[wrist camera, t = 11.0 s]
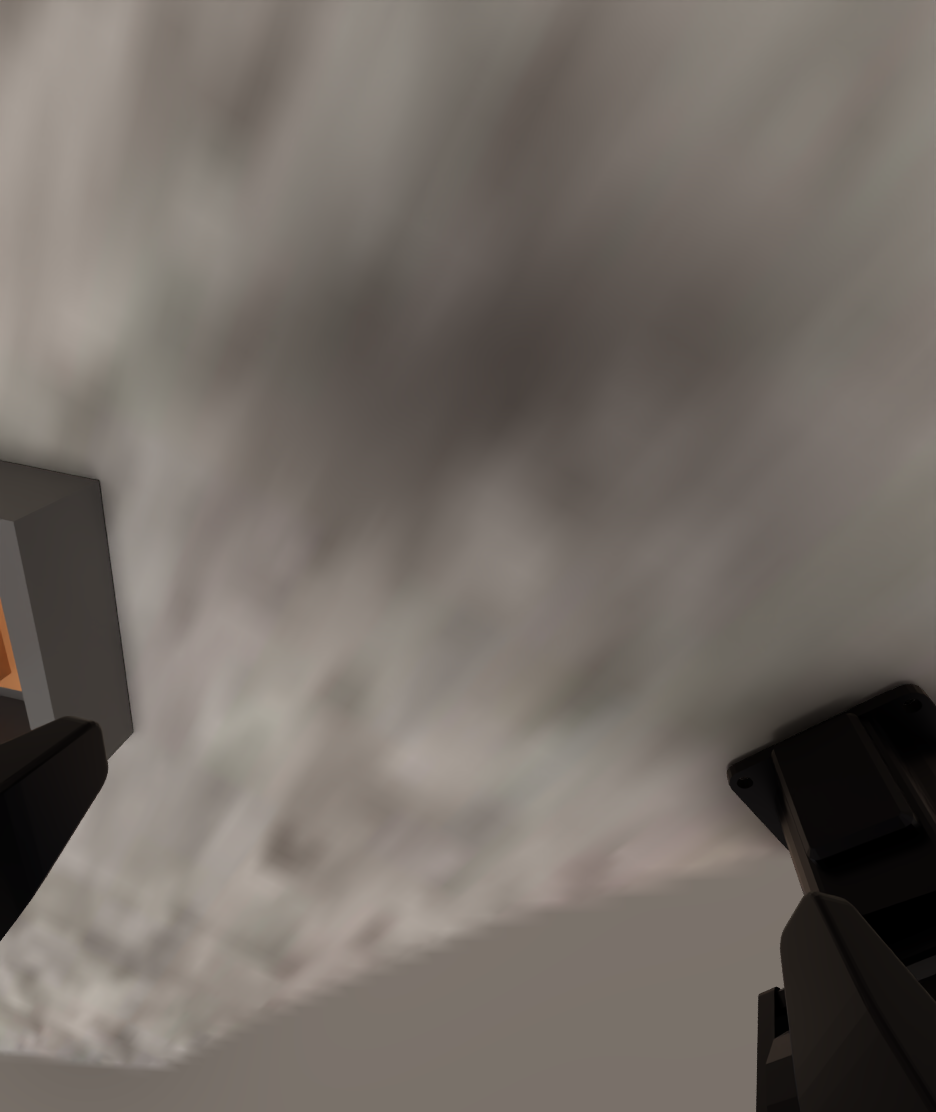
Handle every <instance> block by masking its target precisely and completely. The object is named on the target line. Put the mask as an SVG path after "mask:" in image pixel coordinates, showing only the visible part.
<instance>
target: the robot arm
mask: <svg viewBox="0 0 936 1112" xmlns="http://www.w3.org/2000/svg"><path fill="white" fill-rule="evenodd" d="M911 699H915V700H914V701H913V702H912V703H910V704H904V703H905V702H906V701H908V700H911ZM107 774H108V761H107V755H106V749H105V743H104V737H103V731H102V727H101V726H100V724H99V723H98V722H96V721H93V720H89V719H85V718H81V717H77V716H64V717H61V718H58V719H56V720H54V721H51V722H49V723H47V724H45V725H42V726H40V727H38V728H35V729H33V730H31V731H29V732H26V733H24V734H22V735H19V736H17V737H15V738H12V739H10V740H8V741H6V742H3V743H1V744H0V941H1V940H2V938H3V937H4V936H5V934H6V933H7V932H8V930H9V929H10V928H11V927H12V925H13V924H14V923H15V921H16V920H17V919H18V917H19V916H20V914H21V913H22V912H23V910H24V909H25V908H26V906H27V905H28V903H29V902H30V901H31V899H32V898H33V896H34V895H35V893H36V892H37V890H38V889H39V887H40V886H41V884H42V883H43V881H44V880H45V878H46V877H47V875H48V873H49V872H50V870H51V869H52V867H53V865H54V864H55V862H56V861H57V859H58V857H59V856H60V854H61V853H62V851H63V849H64V848H65V846H66V844H67V843H68V841H69V840H70V838H71V836H72V835H73V833H74V832H75V830H76V828H77V827H78V825H79V824H80V822H81V820H82V819H83V817H84V816H85V814H86V812H87V811H88V809H89V807H90V806H91V804H92V803H93V801H94V799H95V798H96V796H97V795H98V793H99V791H100V790H101V788H102V786H103V784H104V782H105V780H106V777H107ZM742 777H749V778H747V779H744V780H741V779H740V778H742ZM727 778H728V782H729V785H730V787H731V789H732V790H733V791H734V792H735V793H736V794H737V795H738V796H739V798H740V799H741V800H742V801H743V802H744V803H745V804H746V805H747V806H748V807H749V808H750V809H751V810H752V812H753V813H754V814H755V815H756V816H757V817H758V818H759V819H760V820H761V821H762V822H763V823H764V824H765V826H766V827H767V828H768V829H769V830H770V831H771V832H772V833H773V834H774V835H775V836H776V837H777V839H778V840H779V841H780V842H781V843H782V844H783V845H784V846H785V847H786V848H787V849H788V850H789V852H790V855H791V858H792V861H793V864H794V867H795V870H796V872H797V875H798V878H799V882H800V885H801V888H802V891H803V894H804V896H803V898H802V899H801V901H800V903H799V904H798V906H797V908H796V909H795V911H794V913H793V915H792V916H791V918H790V920H789V921H788V923H787V925H786V926H785V928H784V930H783V932H782V936H781V943H780V953H781V963H782V972H783V980H784V988H783V989H780V988H778V987H774V988H772V989H770V990H767V991H765V992H763V993H760V994H759V996H758V1043H757V1096H756V1098H757V1099H756V1112H936V706H935V704H934V703H933V702H932V701H931V699H930V698H929V697H928V695H927V694H926V693H925V692H924V690H923V689H921V688H920V687H919V686H916V685H913V684H904V685H901V686H898V687H896V688H894V689H892V690H889V691H887V692H885V693H883V694H881V695H879V696H877V697H875V698H873V699H871V700H868V701H866V702H864V703H862V704H860V705H858V706H856V707H854V708H852V709H850V710H847V711H845V712H843V713H841V714H839V715H837V716H835V717H833V718H831V719H829V720H826V721H824V722H822V723H820V724H818V725H816V726H814V727H812V728H810V729H807V730H805V731H803V732H801V733H799V734H797V735H795V736H793V737H791V738H789V739H786V740H784V741H782V742H780V743H778V744H776V745H774V746H772V747H770V748H768V749H765V750H763V751H761V752H759V753H757V754H755V755H753V756H751V757H749V758H746V759H744V760H742V761H740V762H738V763H736V764H734V765H732V766H731V767H730V768H729V769H728V771H727Z"/></svg>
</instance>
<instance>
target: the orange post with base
mask: <svg viewBox="0 0 936 1112" xmlns="http://www.w3.org/2000/svg"><path fill="white" fill-rule="evenodd" d="M0 687H4V688H9V689H13V690H18V691H22V689H21V685H20V681H19V676H18V672H17V668H16V663H15V659H14V655H13V651H12V646H11V642H10V638H9V633H8V629H7V625H6V621H5V616H4V612H3V608H2V603H1V599H0Z"/></svg>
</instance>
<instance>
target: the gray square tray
mask: <svg viewBox="0 0 936 1112" xmlns="http://www.w3.org/2000/svg"><path fill="white" fill-rule="evenodd" d="M0 599H1V603H2V608H3V612H4V616H5V621H6V625H7V629H8V633H9V638H10V642H11V646H12V651H13V655H14V659H15V663H16V668H17V672H18V676H19V681H20V685H21V689H22V691H18V690H13V689H9V688H4V687H0V744H1V743H3V742H6V741H8V740H10V739H12V738H15V737H17V736H19V735H22V734H24V733H26V732H29V731H31V730H33V729H35V728H38V727H40V726H42V725H45V724H47V723H49V722H51V721H54V720H56V719H58V718H61V717H64V716H77V717H81V718H85V719H89V720H93V721H96V722H98V723H99V724H100V726H101V727H102V731H103V737H104V743H105V749H106V755H107V760H108V759H109V758H110V757H111V756H112V755H113V754H114V753H115V752H116V750H117V749H118V748H119V747H120V746H121V745H122V744H123V743H124V742H125V741H126V740H127V739H128V738H129V737H130V735H131V734H132V733H133V728H132V721H131V713H130V706H129V699H128V691H127V684H126V677H125V669H124V662H123V655H122V647H121V640H120V633H119V625H118V618H117V611H116V604H115V596H114V589H113V582H112V574H111V567H110V560H109V552H108V545H107V538H106V530H105V523H104V516H103V508H102V501H101V494H100V486H99V481H98V480H93V479H88V478H83V477H78V476H73V475H68V474H63V473H58V472H54V471H49V470H44V469H39V468H34V467H29V466H24V465H19V464H14V463H9V462H4V461H0Z"/></svg>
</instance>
